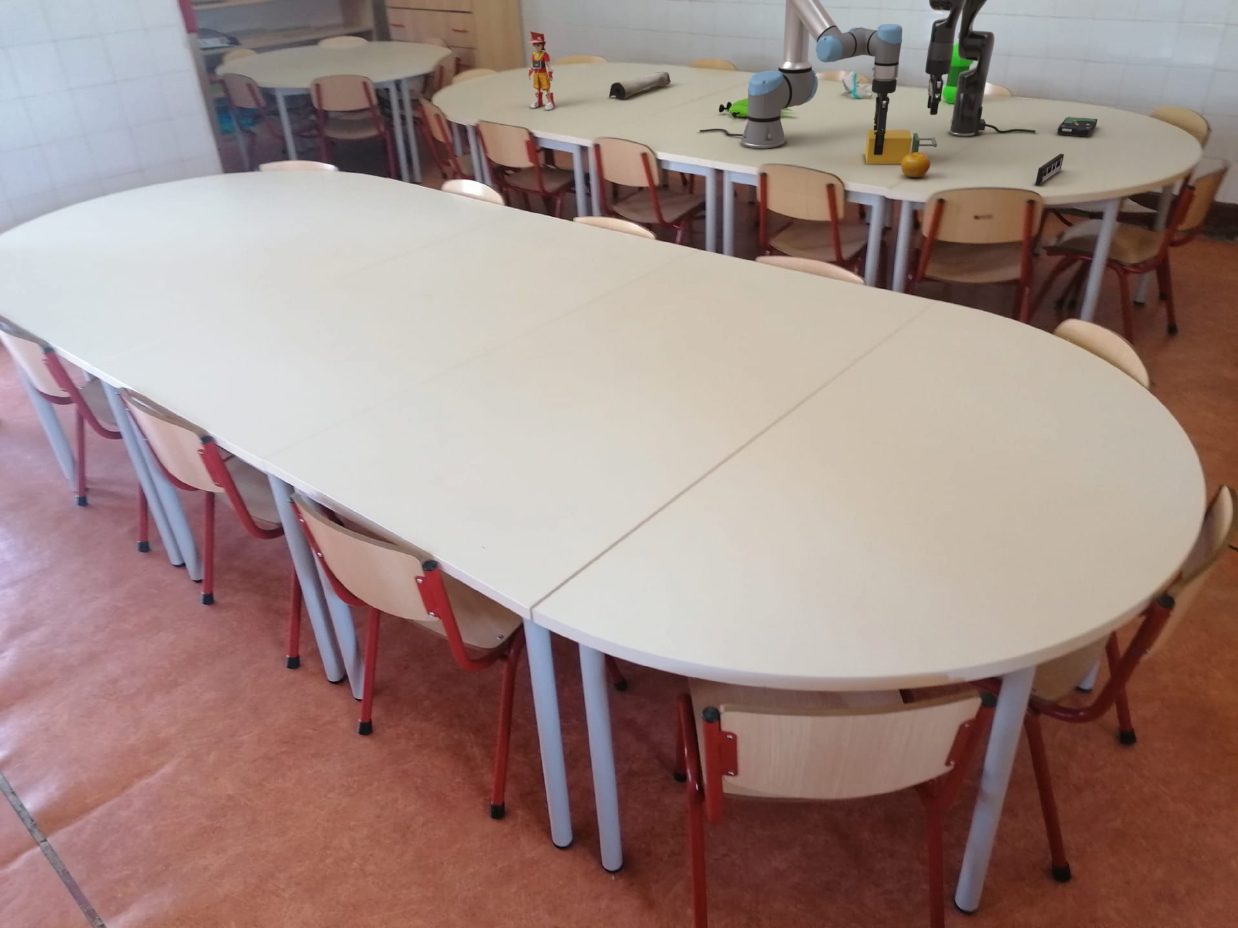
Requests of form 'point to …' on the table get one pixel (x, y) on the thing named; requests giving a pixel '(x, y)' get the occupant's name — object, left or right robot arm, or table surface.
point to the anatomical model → (855, 86)
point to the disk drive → (1077, 126)
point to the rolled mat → (638, 84)
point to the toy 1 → (541, 71)
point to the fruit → (915, 164)
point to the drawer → (916, 144)
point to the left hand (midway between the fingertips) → (877, 150)
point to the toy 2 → (741, 108)
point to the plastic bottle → (954, 75)
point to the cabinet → (889, 147)
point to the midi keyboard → (1049, 169)
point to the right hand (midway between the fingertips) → (931, 111)
